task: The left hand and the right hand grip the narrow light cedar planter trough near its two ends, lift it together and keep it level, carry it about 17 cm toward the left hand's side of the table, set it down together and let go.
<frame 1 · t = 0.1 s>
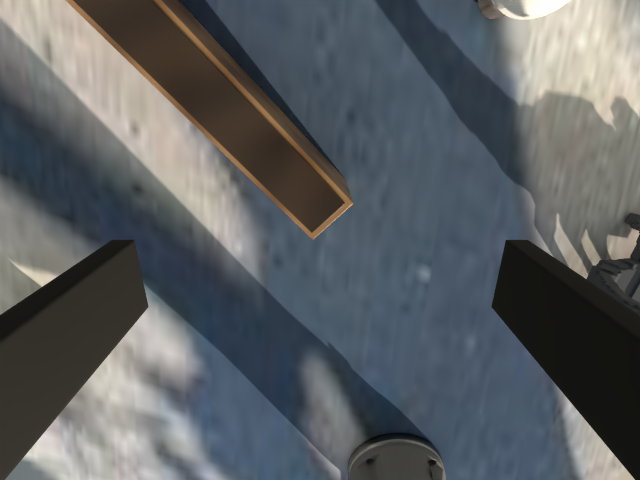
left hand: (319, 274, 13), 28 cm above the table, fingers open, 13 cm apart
planter trough: (238, 100, 36), on the table
toy: (637, 273, 44), on the table
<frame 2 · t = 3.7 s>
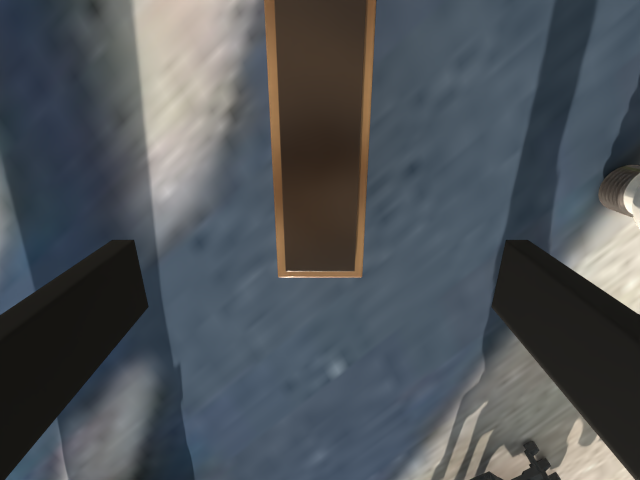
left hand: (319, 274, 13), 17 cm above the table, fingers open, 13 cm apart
planter trough: (320, 35, 24), on the table, touching right hand
light bulb: (623, 185, 28), on the table
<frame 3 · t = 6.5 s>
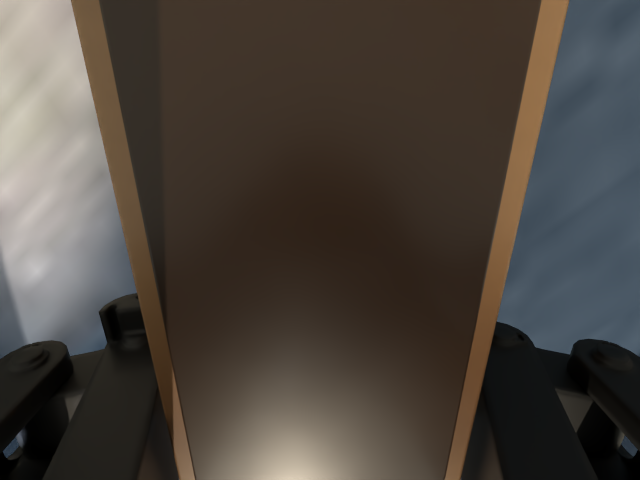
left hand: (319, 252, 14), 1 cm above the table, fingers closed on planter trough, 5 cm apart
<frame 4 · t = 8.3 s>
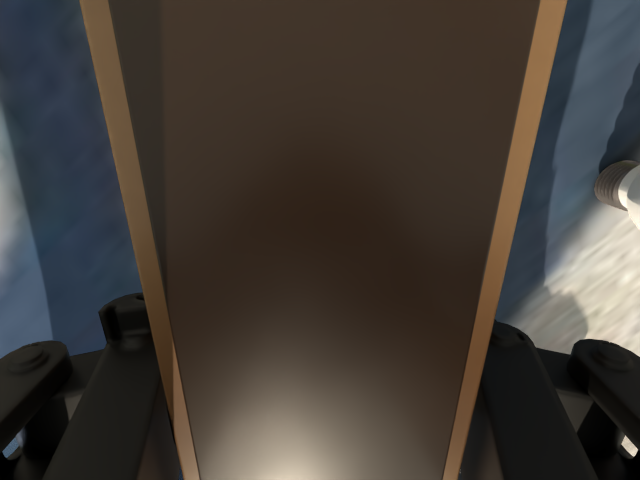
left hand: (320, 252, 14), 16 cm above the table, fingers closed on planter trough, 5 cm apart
light bulb: (618, 180, 29), on the table
when the left hand's fingers open (2 cm above the table, at t = 13.0 s): planter trough drops 1 cm, on the table.
when the right hand's fingers open (6 cm above the table, at t = 13.1 s): planter trough stays where it is, on the table.
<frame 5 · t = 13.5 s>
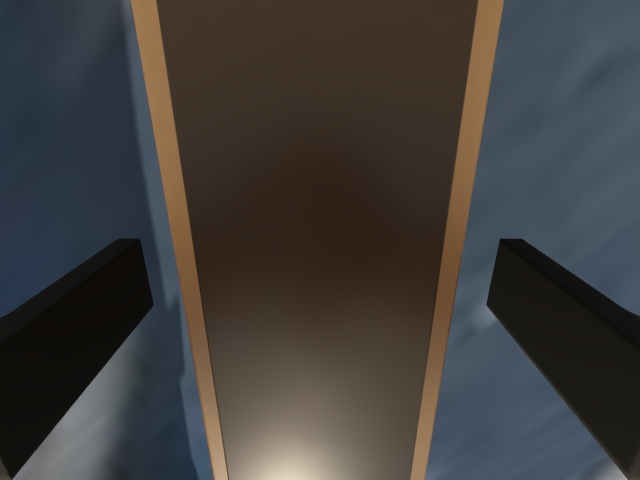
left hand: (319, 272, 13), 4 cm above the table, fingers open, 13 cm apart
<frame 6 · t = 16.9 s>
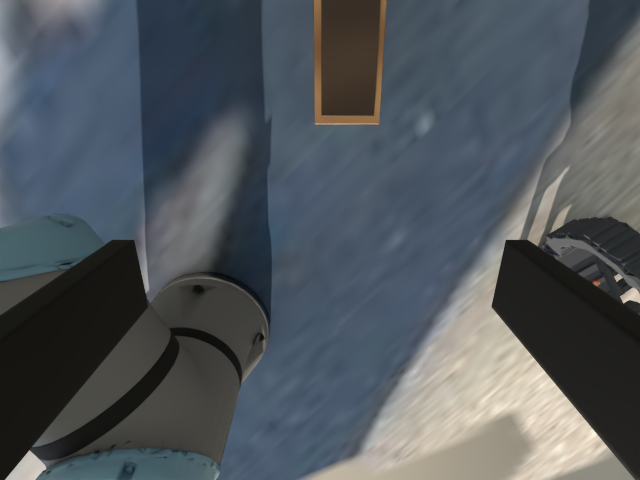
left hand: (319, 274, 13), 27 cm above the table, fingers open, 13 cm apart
toy: (565, 280, 43), on the table
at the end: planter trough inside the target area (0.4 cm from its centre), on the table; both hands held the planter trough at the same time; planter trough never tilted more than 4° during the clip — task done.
